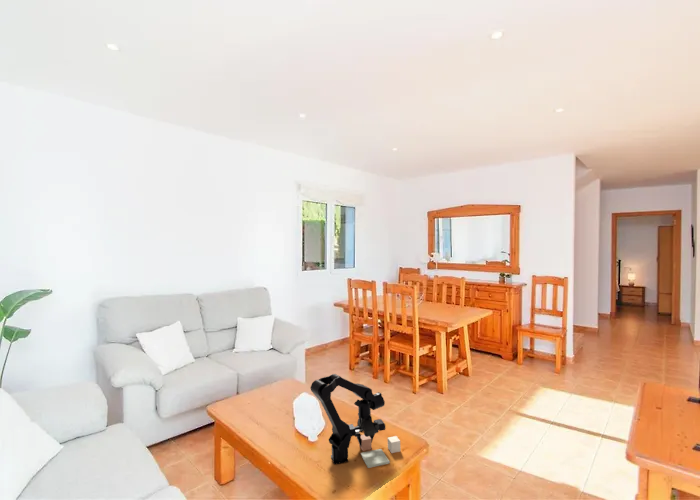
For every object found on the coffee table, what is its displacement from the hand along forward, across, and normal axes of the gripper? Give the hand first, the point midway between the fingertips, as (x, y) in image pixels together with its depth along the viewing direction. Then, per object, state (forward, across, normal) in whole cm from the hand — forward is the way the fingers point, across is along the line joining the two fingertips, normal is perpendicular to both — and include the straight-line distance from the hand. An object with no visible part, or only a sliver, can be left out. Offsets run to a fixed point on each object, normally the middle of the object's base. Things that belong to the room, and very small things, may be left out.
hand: (365, 445), depth 172 cm
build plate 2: (+2, +4, +19) cm, 19 cm away
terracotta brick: (+1, 0, 0) cm, 1 cm away
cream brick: (+1, +12, -6) cm, 13 cm away
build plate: (+1, +1, -10) cm, 10 cm away
